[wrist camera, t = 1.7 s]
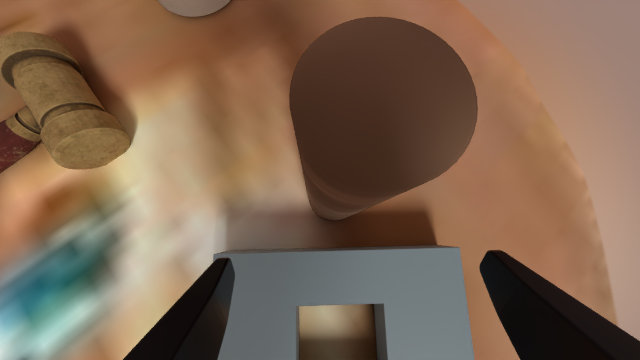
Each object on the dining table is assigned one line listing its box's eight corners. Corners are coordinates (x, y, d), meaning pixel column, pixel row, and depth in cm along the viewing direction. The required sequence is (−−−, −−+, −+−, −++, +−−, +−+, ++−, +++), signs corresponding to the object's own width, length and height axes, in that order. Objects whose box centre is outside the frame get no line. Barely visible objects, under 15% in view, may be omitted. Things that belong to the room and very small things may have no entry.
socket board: (458, 427, 17) (488, 468, 14) (221, 437, 17) (200, 482, 14) (437, 245, 19) (459, 247, 16) (229, 250, 19) (213, 254, 16)
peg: (368, 196, 20) (515, 99, 5) (333, 231, 19) (390, 232, 5) (333, 161, 21) (378, -14, 6) (298, 195, 20) (250, 94, 5)
